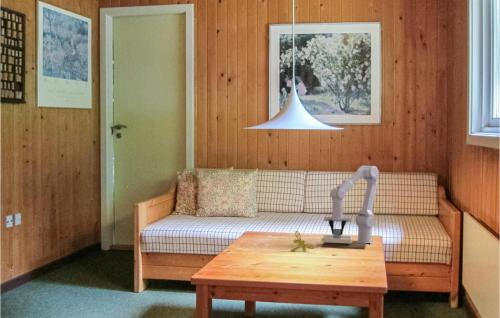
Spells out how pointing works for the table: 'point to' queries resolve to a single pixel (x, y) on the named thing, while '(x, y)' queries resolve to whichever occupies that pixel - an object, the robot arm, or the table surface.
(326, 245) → the track board
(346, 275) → the table surface
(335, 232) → the block
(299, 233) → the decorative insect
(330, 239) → the shallow rimmed tray
